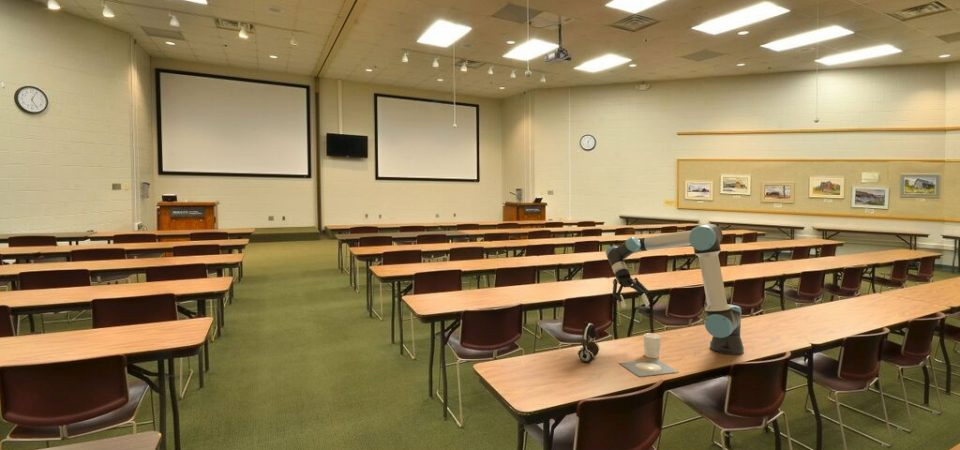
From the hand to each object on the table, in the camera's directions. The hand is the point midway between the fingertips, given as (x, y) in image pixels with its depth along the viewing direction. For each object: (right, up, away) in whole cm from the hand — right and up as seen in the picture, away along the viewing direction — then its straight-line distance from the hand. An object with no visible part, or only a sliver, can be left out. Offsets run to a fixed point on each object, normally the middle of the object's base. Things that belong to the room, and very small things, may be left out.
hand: (636, 306), depth 235 cm
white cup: (+4, -23, -11) cm, 26 cm away
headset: (-28, -23, -15) cm, 40 cm away
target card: (-4, -23, -27) cm, 36 cm away
